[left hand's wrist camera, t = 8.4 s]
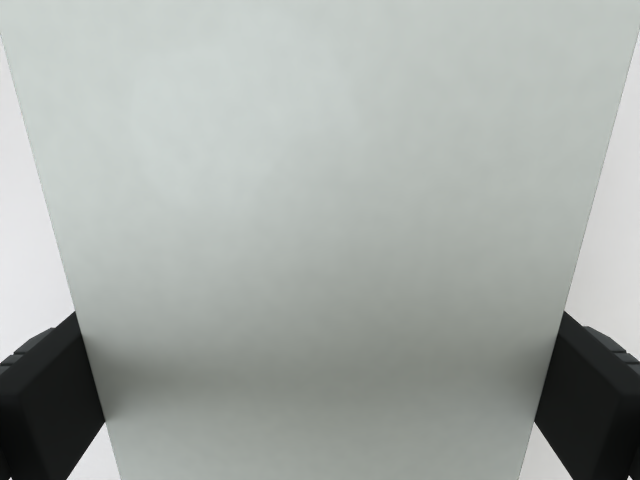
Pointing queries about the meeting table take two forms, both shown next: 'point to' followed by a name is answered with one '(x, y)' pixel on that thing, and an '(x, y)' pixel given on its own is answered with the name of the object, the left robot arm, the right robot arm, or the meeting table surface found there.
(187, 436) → the pale grey box
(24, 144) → the meeting table surface
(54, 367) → the left robot arm
